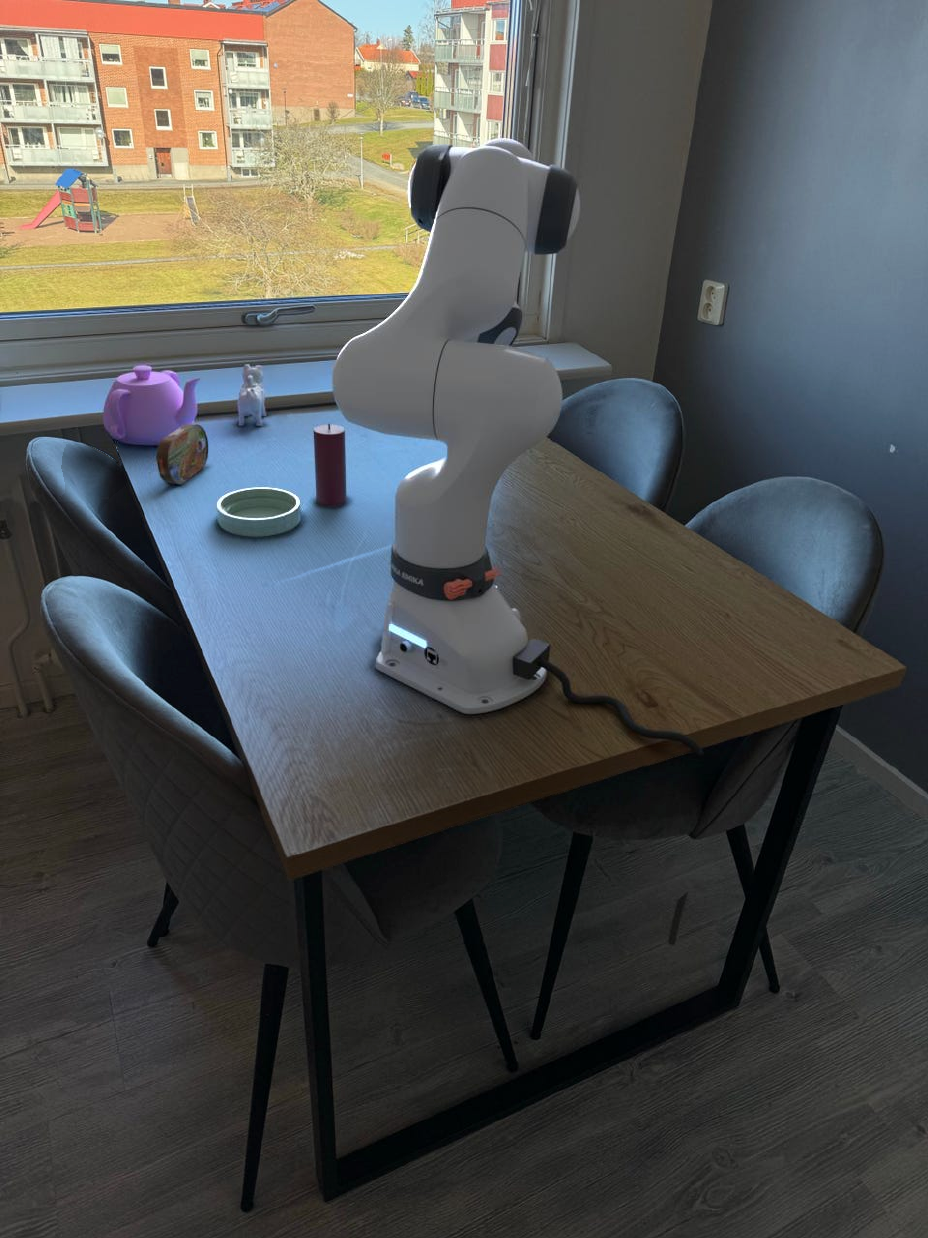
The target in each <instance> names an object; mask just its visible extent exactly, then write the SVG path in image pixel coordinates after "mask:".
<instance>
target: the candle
mask: <svg viewBox="0 0 928 1238" xmlns="http://www.w3.org/2000/svg"><path fill="white" fill-rule="evenodd" d="M313 450H314V474H315V496H316V497H315V499H316V503H317V504H318V505H322V506H325V507H338V506H341V505H343V504H346V502H347V500H348V498H347V496H348V495H347V459H346V458H347V457H346V428H345V427H344V426H342V425H339V424H333V423H332V424H331V423H327V424H320V425H317V426H315V427H314V428H313Z"/></svg>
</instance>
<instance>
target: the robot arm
mask: <svg viewBox="0 0 928 1238" xmlns="http://www.w3.org/2000/svg"><path fill="white" fill-rule="evenodd" d="M416 158H417V159H416V161H415V163H414V165H413V167H412V169H411V171H410V174H409V179H408V185H407V195H408V196H407V198H408V204H409V208H410V215H411V218H412V219H413V221H414V222H415V224H416V225H417V227H418V228H421V230H424V231H426V232H428V233H430V236H429V240H428V245H427V248H426V252H425V255H424V258H423V262H422V265H421V268H420V271H419V274H418V277H417V280H416V281H415V284H414V286H413V288H412V289H411V291H410V293H409V294H408V296H407V297H406V298H405V299H404V301H402V303H401V304H400V305H399V307H397V308H396V309H395V310H394V311H393V312H392V313H391V314H390V315H389V316H388V317H387V318H386V319H385V320H383V321H382V322H380V323H378V324H377V325H376V326H375V327H373V328H371V329H369V330H368V331H365V332H363V333H362V334H359V335H357V336H354V337H353V338H351V339H350V340H349V341H348V342H347V343H346V344H345V345H344V346H343V348H342V349H341V350H340V351H339V353H338V355H337V358H336V360H335V362H334V365H333V369H332V372H331V373H332V375H331V389H332V390H331V391H332V395H333V398H334V402H335V404H336V406H337V408H338V411H339V412H340V413H341V415H342V416H343V418H344V419H345V420H346V421H347V422H349V423H350V424H354V425H356V426H359V427H362V428H365V429H368V430H371V431H374V432H377V433H380V434H383V435H387V436H388V435H389V436H396V437H405V438H412V439H413V438H414V439H421V440H430V441H436V442H441V443H443V444H445V445H446V456H445V457H443V458H440V459H439V460H436V461H433V462H430V463H426V464H425V465H421V466H420V467H418V468H416V469H413V470H412V471H411V472H409V473H408V474H407V475H405V476H404V478H402V480H401V481H400V483H399V484H398V487H397V489H396V492H395V495H394V542H393V543H392V545H391V550H390V551H391V552H390V556H389V565H390V576H391V578H392V579H393V581H392V586H391V590H390V594H389V597H388V600H387V603H386V609H385V615H384V624H383V632H382V638H381V641H380V647H381V648H380V649H381V650H380V652H379V653H378V654H377V656H376V658H375V666H374V667H375V669H376V670H378V671H379V672H381V673H383V674H385V675H386V676H389V677H390V678H393V679H394V680H397V681H399V682H401V683H402V684H404V685H406V686H408V687H411V688H413V689H414V690H417V691H418V692H420V693H422V694H423V695H426V696H428V697H430V698H432V699H434V700H435V701H438V702H439V703H442V704H444V705H445V706H447V707H449V708H452V709H454V710H456V711H457V712H460V713H462V714H465V715H476V714H484V713H489V712H494V711H498V710H500V709H503V708H506V707H508V706H510V705H513V704H516V703H517V702H519V701H521V700H523V699H524V698H527V697H528V696H530V695H531V694H533V693H534V692H536V691H537V690H538V689H540V687H541V686H542V685H543V684H544V682H545V681H546V678H547V675H548V674H547V672H549V673H551V675H553V676H555V677H556V678H557V679H558V680H559V682H560V683H561V687H562V693H563V695H564V697H565V698H566V699H567V700H569V701H570V702H573V703H575V704H581V705H591V704H592V705H593V704H594V705H595V704H607V705H609V706H611V707H613V708H615V710H616V711H618V713H619V714H620V717H621V718H622V721H623V723H624V724H625V726H626V727H627V728H628V729H629V730H630V731H632V732H633V733H635V734H637V735H639V736H641V737H645V738H648V739H649V738H650V739H655V740H671V741H675V742H680V743H681V744H683V745H685V746H687V747H688V748H689V750H690V751H692V752H693V754H695V755H697V756H703V755H704V751H703V749H702V748H701V746H700V745H699V743H697V741H696V740H694V739H693V738H692V737H690V736H688V735H687V734H685V733H681V732H678V731H671V730H670V731H669V730H659V729H657V730H656V729H650V728H647V727H643V726H641V725H639V724H638V723H637V722H635V720H634V719H633V718H632V716H631V714H630V712H629V710H628V708H627V706H625V704H624V703H623V702H621V701H620V700H619V699H617V698H615V697H613V696H609V695H604V694H603V695H602V694H600V695H599V694H598V695H597V694H596V695H579V694H576V693H574V692H573V691H572V688H571V687H572V686H571V682H570V679H569V677H568V676H567V675H566V673H565V672H564V671H563V670H562V669H560V668H559V667H558V666H556V665H555V664H553V663H551V662H550V653H551V646H552V645H551V643H548V642H546V641H543V640H540V639H538V638H532V639H531V640H530V641H529V635H528V631H527V629H526V628H525V626H524V625H523V623H522V615H521V613H520V611H519V610H518V609H517V608H515V607H513V608H511V606H510V604H509V603H508V601H507V600H506V599H505V597H504V596H503V594H502V593H501V592H500V590H499V589H498V586H497V585H495V579H496V578H497V577H500V576H501V574H500V573H498V572H499V571H501V568H500V567H497V568H493V566H492V563H491V557H490V553H489V550H488V547H487V546H486V545H487V544H486V543H487V541H486V540H487V531H488V521H489V515H490V508H491V503H492V498H493V495H494V492H495V489H496V487H497V485H498V483H499V480H500V479H501V477H502V476H503V474H504V473H505V471H506V470H507V469H508V468H509V466H510V465H511V464H512V463H513V462H514V461H515V460H516V459H517V458H519V457H520V456H521V455H523V454H524V453H525V452H527V451H529V450H530V449H532V448H535V447H536V446H538V445H539V444H541V443H542V442H543V441H544V440H545V439H546V438H547V437H548V436H549V435H550V434H551V432H552V431H553V430H554V428H555V426H556V425H557V423H558V421H559V419H560V415H561V412H562V408H563V387H562V383H561V379H560V376H559V374H558V371H557V370H556V367H555V366H554V365H553V362H551V361H550V359H549V358H548V357H545V356H543V355H540V354H536V353H534V352H530V351H528V350H524V349H521V348H518V347H514V346H513V344H514V343H515V342H516V339H517V338H518V335H519V333H520V330H521V327H522V323H523V311H522V310H521V308H520V306H519V304H518V302H517V301H516V297H517V293H518V292H517V291H518V287H519V282H520V277H521V272H522V267H523V262H524V259H525V258H524V257H525V254H526V252H531V253H532V252H533V254H534V255H535V256H536V255H537V256H539V255H541V256H542V255H543V256H546V255H547V256H548V255H555V254H558V253H559V252H560V251H561V250H563V249H564V248H565V247H566V245H567V242H568V241H569V240H570V239H571V237H572V236H573V235H574V233H575V230H576V228H577V225H578V223H579V218H580V213H581V199H580V192H579V189H578V181H577V180H576V179H575V176H574V175H573V174H572V172H570V171H568V170H567V169H565V168H562V167H560V166H557V165H555V164H553V163H551V164H550V165H549V166H548V165H547V164H543V163H540V162H538V161H536V160H535V158H534V156H533V154H532V152H531V151H530V150H529V149H528V147H526V146H525V145H524V144H523V143H521V142H519V141H518V140H515V139H512V138H505V137H500V138H493V139H491V140H488V141H487V142H485V143H483V144H482V145H480V146H479V147H478V146H477V147H474V148H473V147H453V146H452V144H450V143H449V144H448V143H447V144H445V143H444V144H433V145H429V146H427V147H426V148H424V149H423V150H422V151H421V152H420V153H419V154H418V155H417V157H416ZM688 895H689V891H687V892H686V893H684V894H683V895H682V896H681V897H680V898H678V899H677V902H676V906H675V908H674V912H673V916H672V921H671V925H670V928H669V929H670V930H669V934H668V939H667V943H668V945H671V946H674V945H676V941H677V937H678V931H679V928H680V924H681V920H682V916H683V913H684V908H685V905H686V902H687V899H688Z"/></svg>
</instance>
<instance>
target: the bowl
mask: <svg viewBox="0 0 928 1238" xmlns="http://www.w3.org/2000/svg"><path fill="white" fill-rule="evenodd" d="M216 514H217V523H218V525H219V526H220V528H221V529H223V530H224V531H226V532H227V533H230V534H233V535H237V536H242V537H254V538H256V537H257V538H258V537H268V536H276V535H279V534H283V533H286V532H289V531H291V530H292V529H295V527H297V526H298V525H299V524H300V522H301V519H302V518H301V517H302V515H301V501H300V498H299V497H298V496H297V495H296V494H294V493H292V492H290V491H287V490H285V489H281V488H275V487H250V488H242V489H238V490H234V491H231V492H228V493H227V494H225V495H223V496H221V497H220V498H219V499H218V501H217V502H216Z"/></svg>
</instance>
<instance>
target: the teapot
mask: <svg viewBox="0 0 928 1238" xmlns="http://www.w3.org/2000/svg"><path fill="white" fill-rule="evenodd" d="M201 379H202V378H201V377H200V378H193V379H189V380H187V381H185V384H184V387H183V390H182V388H181V382H180V377H179V375H178V374H177V373H176V372H175V371H172V370H162V371H152V366H149V365H136V366H134V367H132V371H131V372H128V373H127V372H126V373H123V374H121V375H119V376H118V377H116V379H115V380H114V382H113V383H112V385H111V387H110V389H109V392H108V394H107V396H106V398H105V401H104V405H103V413H102V422H103V427H104V429H105V430H106V431H107V433H108V434H109V435H110V436H111V438H113V439H115V440H117V441H118V442H122V443H124V444H129V445H135V446H158V445H159V443H160V442H161V440H162V439H164V438H165V437H166V436H168V435H169V434H171V433H172V432H174V431H175V430H177V429H178V428H180V427H181V426H183V425H195V424H194V423H195V419H196V417H197V414H198V403H197V397H196V386H197V384H198V382H199V381H201Z"/></svg>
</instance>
